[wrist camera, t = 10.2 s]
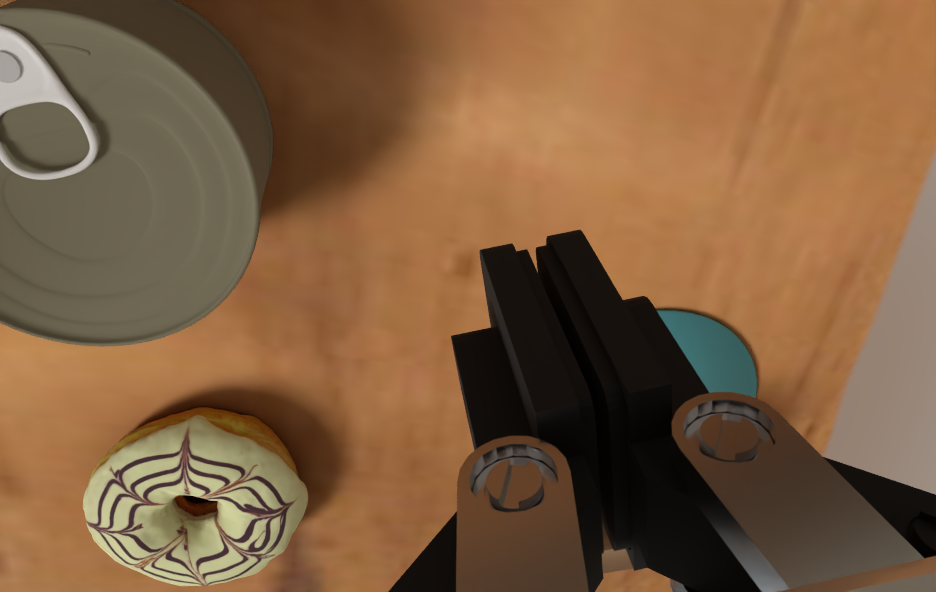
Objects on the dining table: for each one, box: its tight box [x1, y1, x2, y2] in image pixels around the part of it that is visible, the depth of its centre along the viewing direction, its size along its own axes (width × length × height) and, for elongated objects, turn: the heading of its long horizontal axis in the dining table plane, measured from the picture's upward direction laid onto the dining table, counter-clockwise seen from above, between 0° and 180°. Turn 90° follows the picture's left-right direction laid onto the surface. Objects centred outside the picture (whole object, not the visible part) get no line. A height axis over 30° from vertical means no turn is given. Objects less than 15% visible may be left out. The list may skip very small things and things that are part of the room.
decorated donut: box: [83, 407, 308, 586], centre depth 39 cm, size 10×11×4 cm
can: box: [0, 0, 273, 346], centre depth 28 cm, size 12×12×7 cm
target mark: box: [656, 310, 757, 398], centre depth 42 cm, size 13×13×1 cm
